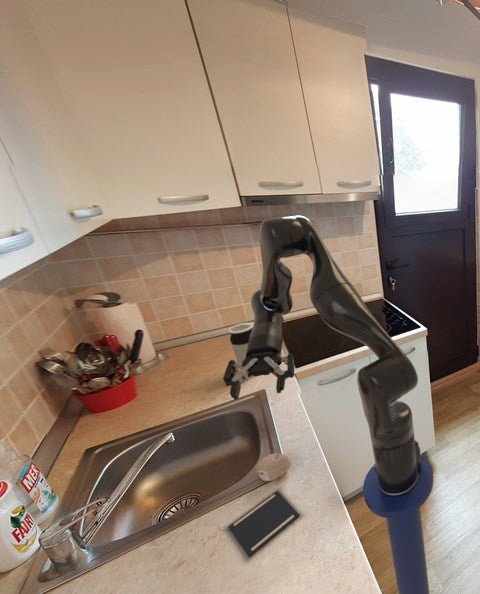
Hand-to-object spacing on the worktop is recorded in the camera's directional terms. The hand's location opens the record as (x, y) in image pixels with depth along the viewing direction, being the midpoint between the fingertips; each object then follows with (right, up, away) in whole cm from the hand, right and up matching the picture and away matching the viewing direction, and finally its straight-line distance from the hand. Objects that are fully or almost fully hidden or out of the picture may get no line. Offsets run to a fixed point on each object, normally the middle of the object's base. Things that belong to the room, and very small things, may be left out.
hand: (257, 394), depth 76 cm
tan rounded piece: (+1, -22, +5) cm, 22 cm away
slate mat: (+5, -26, -5) cm, 27 cm away
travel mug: (-33, -5, +46) cm, 57 cm away
